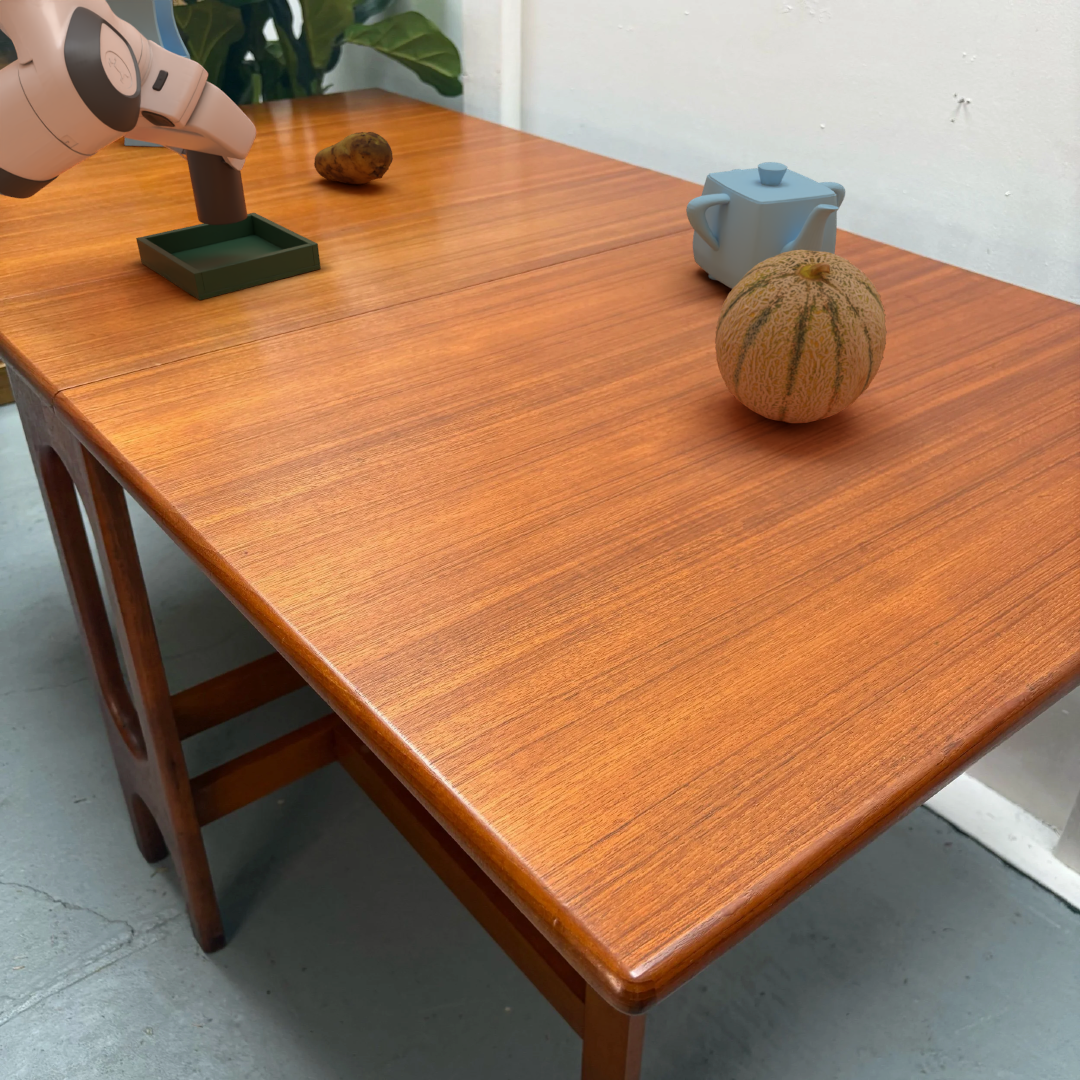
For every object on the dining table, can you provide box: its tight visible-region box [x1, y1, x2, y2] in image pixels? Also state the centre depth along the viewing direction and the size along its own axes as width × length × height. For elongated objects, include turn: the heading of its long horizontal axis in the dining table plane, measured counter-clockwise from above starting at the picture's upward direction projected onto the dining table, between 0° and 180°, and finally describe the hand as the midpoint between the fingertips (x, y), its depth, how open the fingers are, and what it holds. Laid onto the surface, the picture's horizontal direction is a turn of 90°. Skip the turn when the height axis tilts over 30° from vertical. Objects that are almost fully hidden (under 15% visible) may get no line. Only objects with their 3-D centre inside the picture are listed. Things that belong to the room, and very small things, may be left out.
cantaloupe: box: [714, 250, 888, 424], centre depth 89 cm, size 15×15×15 cm
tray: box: [135, 212, 322, 301], centre depth 122 cm, size 16×16×3 cm
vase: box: [105, 0, 191, 148], centre depth 165 cm, size 10×10×25 cm
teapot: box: [685, 161, 846, 290], centre depth 115 cm, size 18×16×14 cm
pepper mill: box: [185, 149, 248, 225], centre depth 116 cm, size 6×6×13 cm
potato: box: [313, 131, 394, 185], centre depth 148 cm, size 8×13×8 cm, turn 39°
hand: (217, 160), depth 116 cm, fingers closed on pepper mill, 5 cm apart
